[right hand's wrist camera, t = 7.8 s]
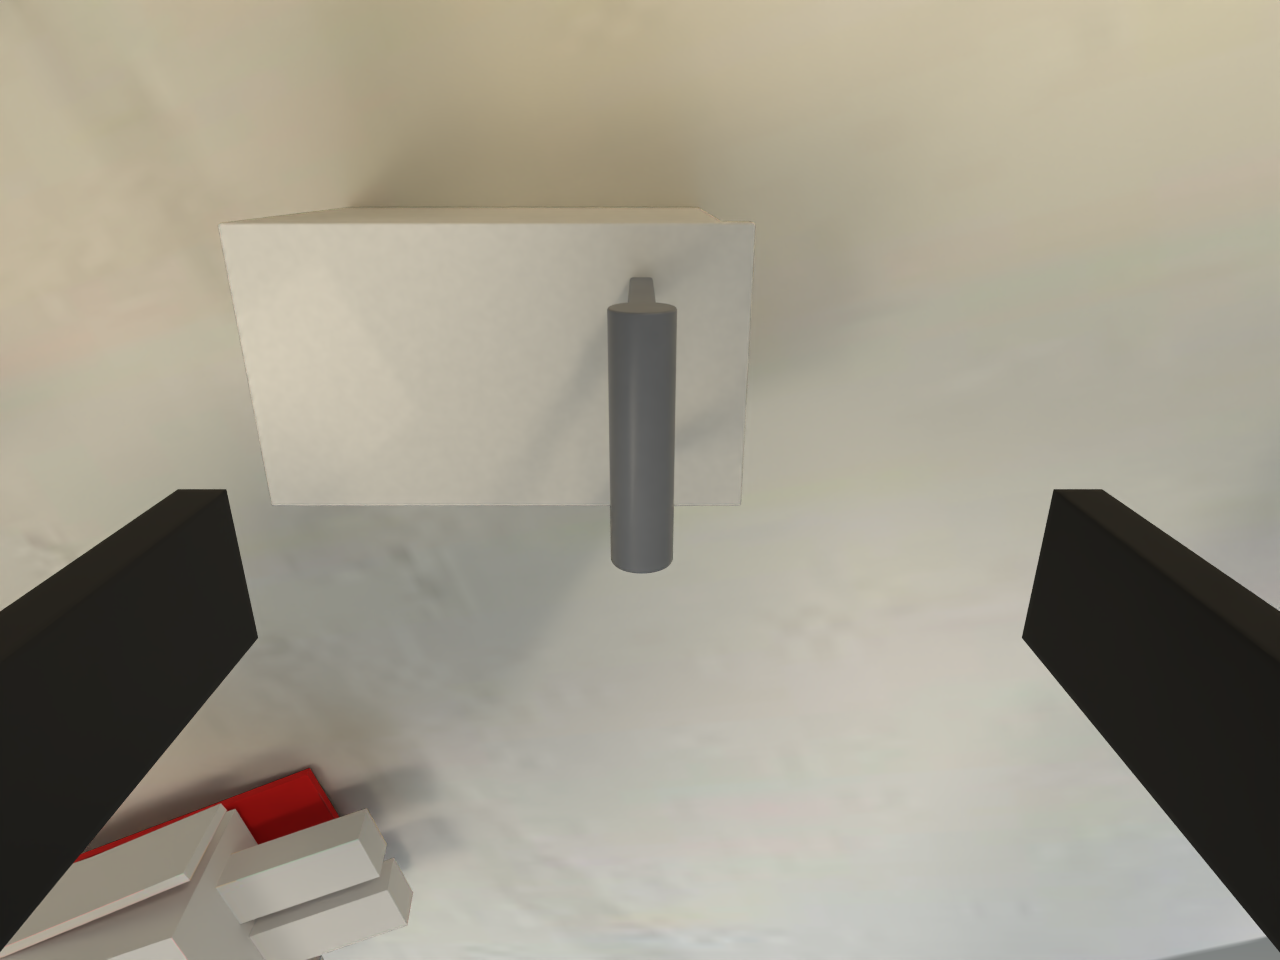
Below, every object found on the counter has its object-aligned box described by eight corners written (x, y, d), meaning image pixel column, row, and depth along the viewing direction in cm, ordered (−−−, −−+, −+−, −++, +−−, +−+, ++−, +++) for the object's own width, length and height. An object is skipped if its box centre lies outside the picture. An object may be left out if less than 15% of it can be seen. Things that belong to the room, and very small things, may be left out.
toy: (415, 1044, 38) (-182, 1250, 37) (444, 837, 50) (-2, 988, 50) (307, 866, 34) (-369, 1095, 33) (368, 689, 46) (-121, 851, 45)
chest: (699, 207, 33) (723, 221, 24) (694, 413, 36) (713, 496, 27) (345, 207, 33) (231, 221, 24) (373, 413, 36) (282, 496, 27)
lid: (752, 220, 24) (806, 244, 16) (738, 496, 27) (777, 623, 19) (230, 221, 23) (36, 244, 16) (281, 496, 27) (142, 624, 19)
